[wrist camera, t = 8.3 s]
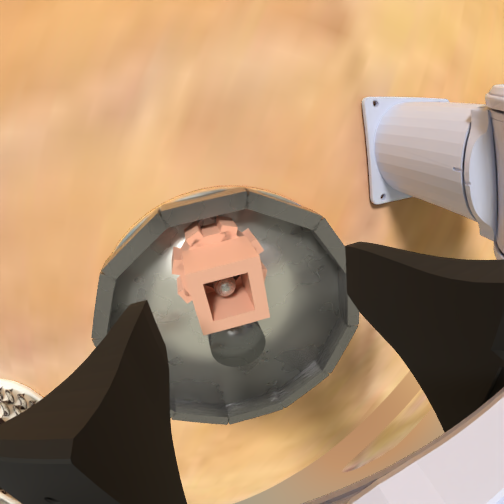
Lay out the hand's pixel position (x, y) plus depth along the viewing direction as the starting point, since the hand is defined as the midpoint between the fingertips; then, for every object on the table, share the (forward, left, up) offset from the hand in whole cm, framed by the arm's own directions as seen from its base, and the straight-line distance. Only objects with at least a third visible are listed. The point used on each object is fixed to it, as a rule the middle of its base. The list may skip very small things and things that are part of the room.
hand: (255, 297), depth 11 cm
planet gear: (+1, +2, -9) cm, 10 cm away
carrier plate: (+1, +8, -10) cm, 13 cm away
